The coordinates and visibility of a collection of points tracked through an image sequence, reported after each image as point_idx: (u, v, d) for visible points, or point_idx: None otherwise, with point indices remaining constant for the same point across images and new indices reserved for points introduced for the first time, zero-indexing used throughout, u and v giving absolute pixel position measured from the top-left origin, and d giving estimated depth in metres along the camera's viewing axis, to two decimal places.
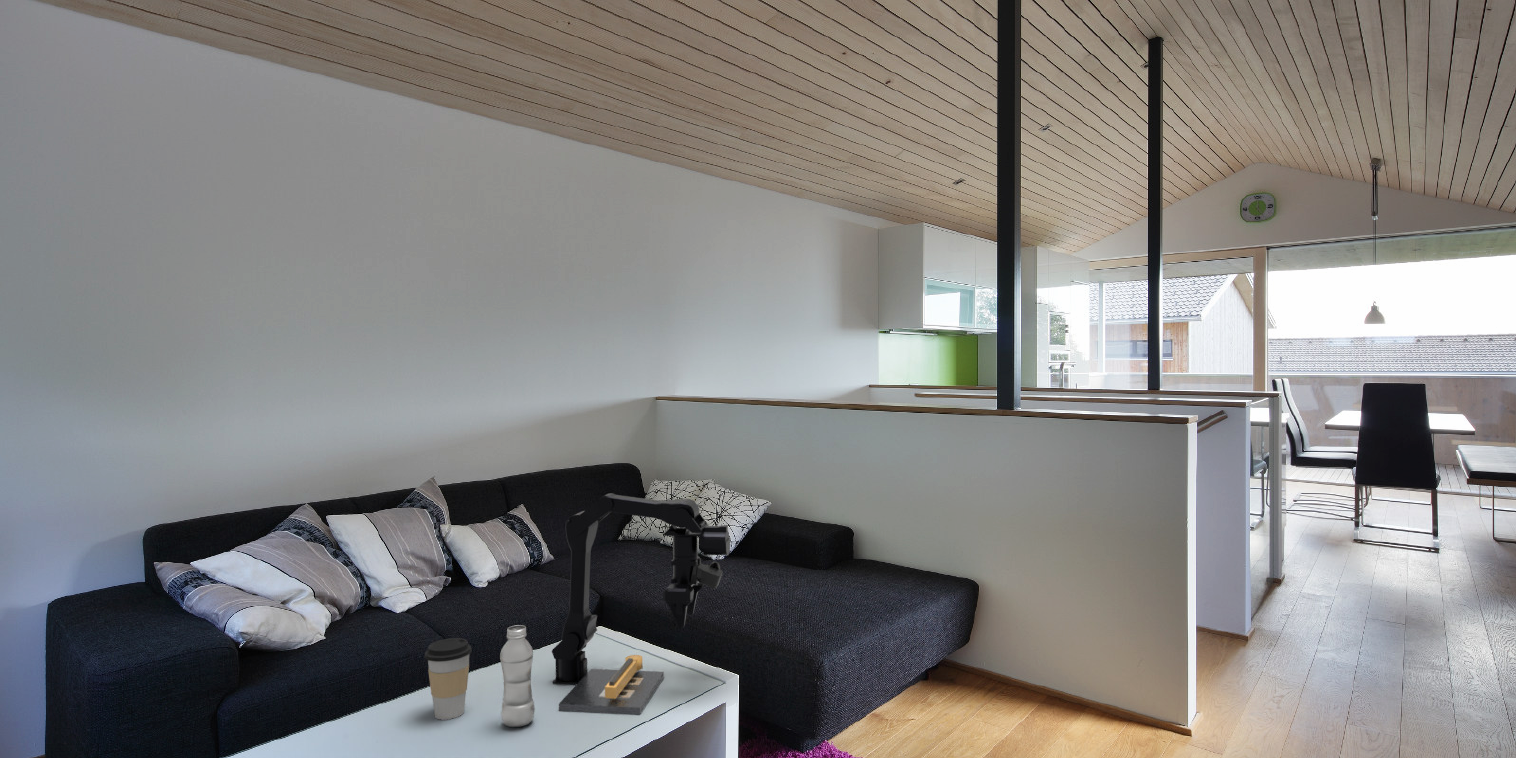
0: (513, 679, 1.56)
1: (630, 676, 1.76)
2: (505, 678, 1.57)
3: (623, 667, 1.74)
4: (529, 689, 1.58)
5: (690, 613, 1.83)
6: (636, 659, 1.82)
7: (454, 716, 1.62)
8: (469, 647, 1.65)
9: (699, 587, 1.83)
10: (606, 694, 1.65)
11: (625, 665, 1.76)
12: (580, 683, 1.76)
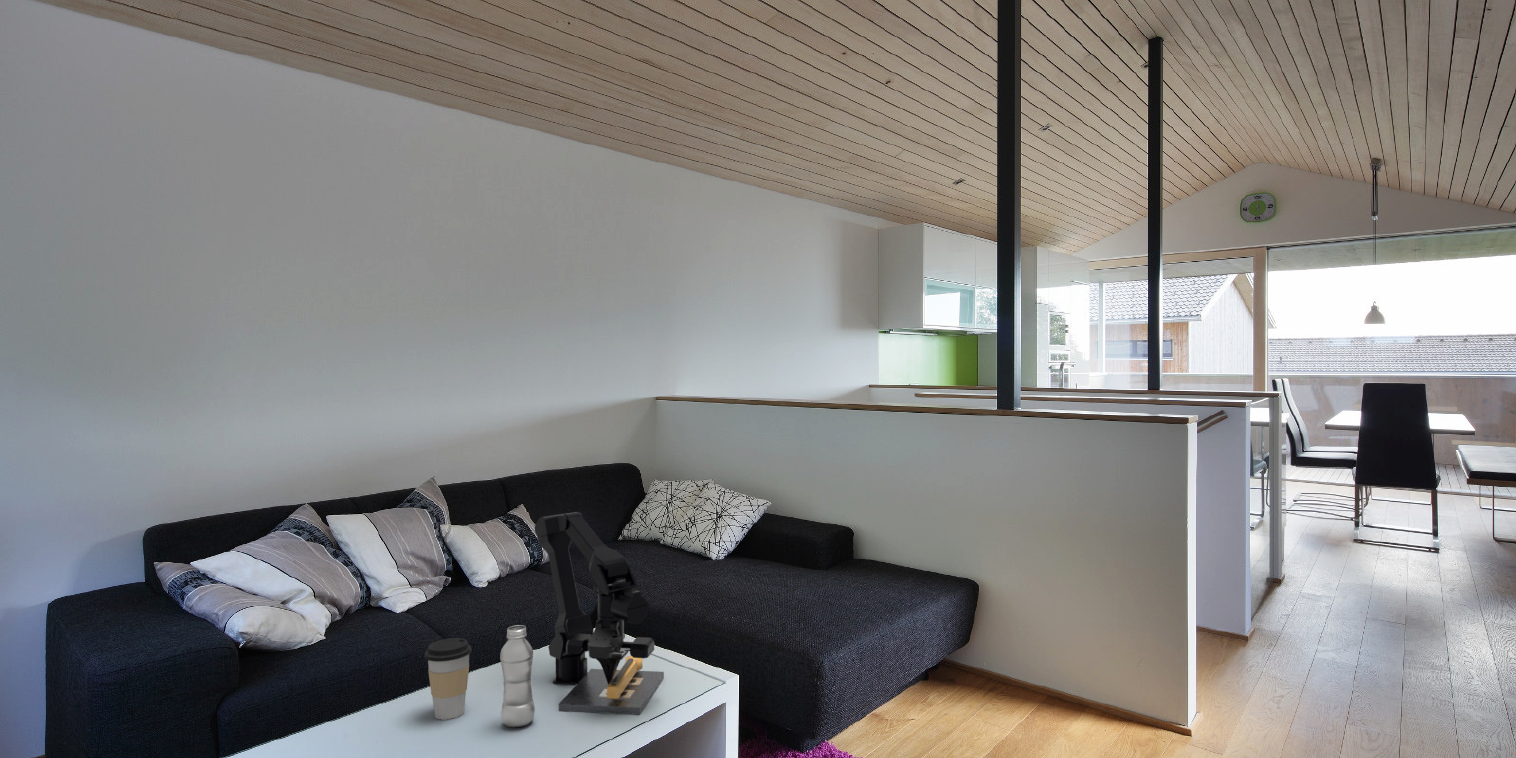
0: (514, 679, 1.56)
1: (631, 676, 1.76)
2: (505, 678, 1.57)
3: (624, 667, 1.74)
4: (529, 689, 1.58)
5: None
6: (636, 659, 1.82)
7: (454, 716, 1.62)
8: (469, 647, 1.65)
9: None
10: (608, 694, 1.65)
11: (626, 665, 1.76)
12: (580, 683, 1.76)
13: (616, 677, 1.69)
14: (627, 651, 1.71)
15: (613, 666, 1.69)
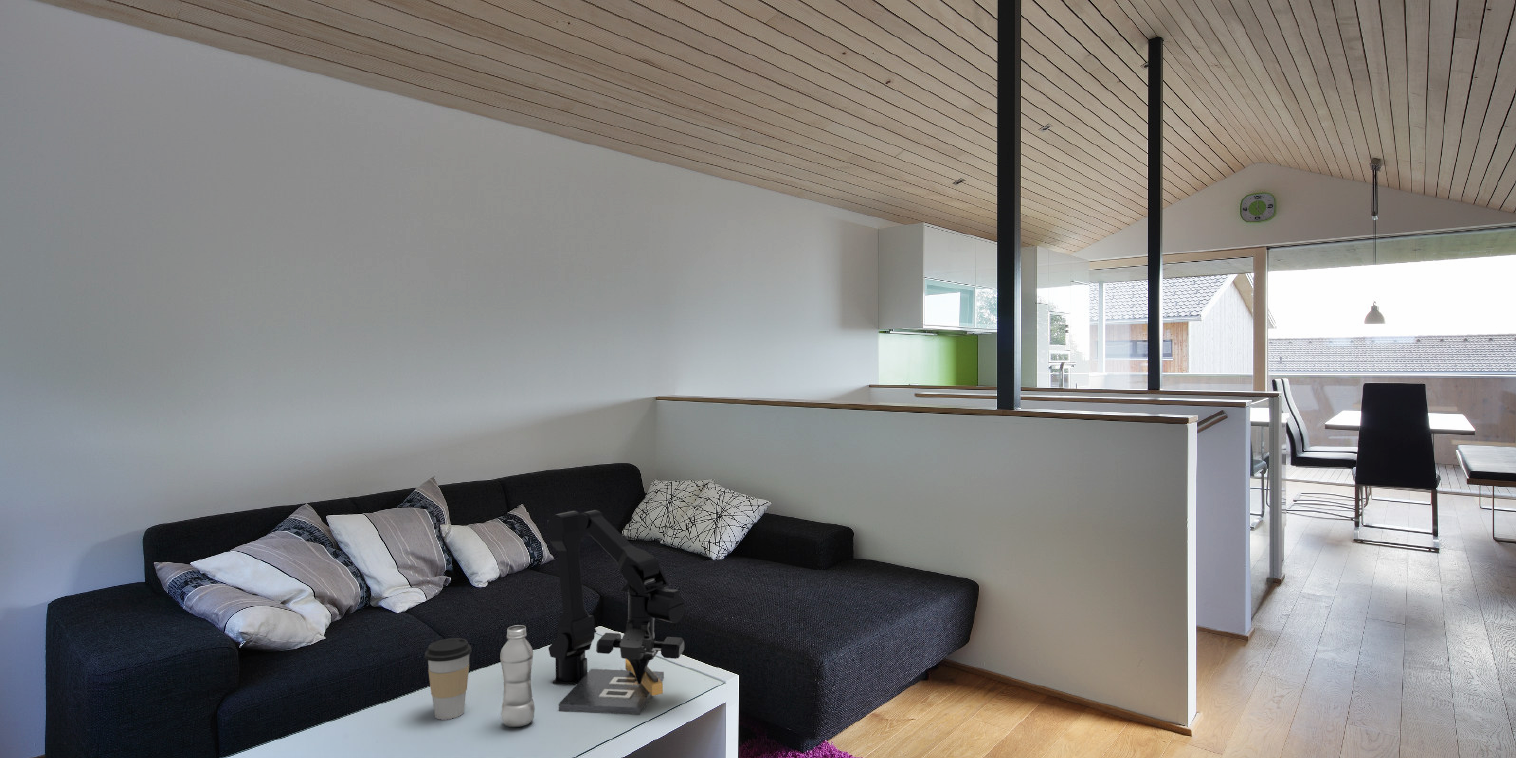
0: (514, 679, 1.56)
1: None
2: (505, 678, 1.57)
3: None
4: (529, 689, 1.58)
5: None
6: None
7: (454, 716, 1.62)
8: (469, 647, 1.65)
9: None
10: (653, 691, 1.67)
11: None
12: (580, 683, 1.76)
13: (652, 674, 1.70)
14: (657, 651, 1.72)
15: (643, 666, 1.69)
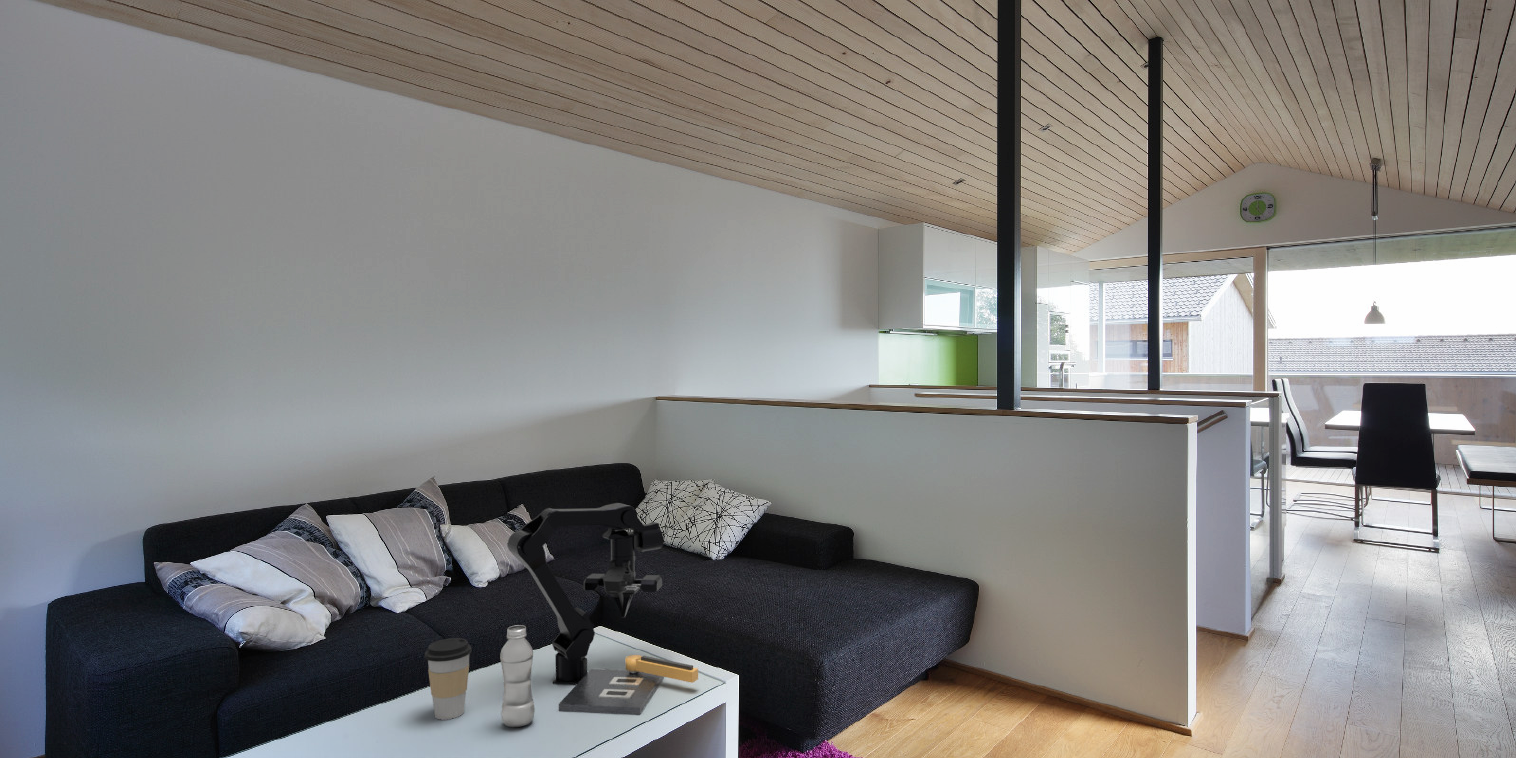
0: (514, 679, 1.56)
1: None
2: (505, 678, 1.57)
3: (662, 660, 1.79)
4: (529, 689, 1.58)
5: None
6: (638, 657, 1.83)
7: (454, 716, 1.62)
8: (469, 647, 1.65)
9: None
10: (693, 678, 1.73)
11: (658, 659, 1.79)
12: (580, 683, 1.76)
13: (682, 664, 1.76)
14: (639, 587, 1.92)
15: (627, 600, 1.90)
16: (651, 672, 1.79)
